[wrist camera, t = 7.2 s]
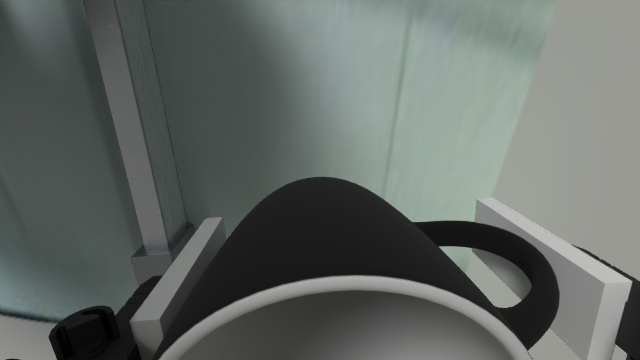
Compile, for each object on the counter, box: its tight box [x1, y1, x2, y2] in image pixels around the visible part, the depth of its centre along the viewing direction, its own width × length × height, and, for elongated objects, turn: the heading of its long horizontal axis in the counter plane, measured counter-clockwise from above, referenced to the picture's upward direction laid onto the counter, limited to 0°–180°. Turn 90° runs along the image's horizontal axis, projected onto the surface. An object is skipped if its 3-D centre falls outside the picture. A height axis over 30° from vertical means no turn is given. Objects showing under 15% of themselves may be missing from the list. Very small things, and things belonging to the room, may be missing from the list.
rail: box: [83, 0, 195, 285], centre depth 19 cm, size 2×24×4 cm, turn 3°
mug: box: [152, 177, 560, 360], centre depth 11 cm, size 12×9×10 cm
